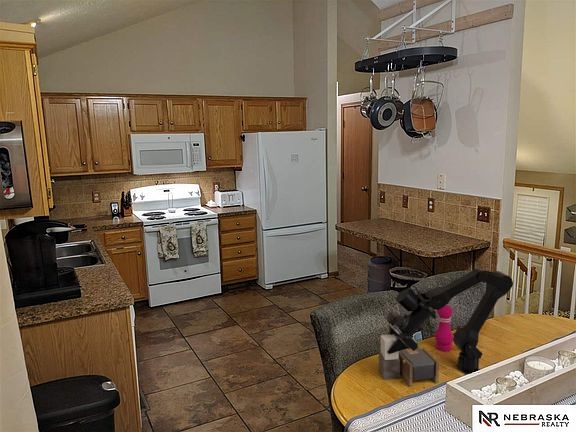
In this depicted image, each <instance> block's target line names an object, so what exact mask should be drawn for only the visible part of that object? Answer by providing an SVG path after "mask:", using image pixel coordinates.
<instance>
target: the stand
mask: <svg viewBox="0 0 576 432" xmlns="http://www.w3.org/2000/svg"><path fill="white" fill-rule="evenodd" d="M378 372H379V374H380V376H381V378H382V380H399V379H401V376H400V360H399V359H392V360H385V359H384V358H383V356H382V354H381V352H379V353H378Z"/></svg>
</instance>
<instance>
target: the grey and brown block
mask: <svg viewBox="0 0 576 432" xmlns="http://www.w3.org/2000/svg"><path fill="white" fill-rule="evenodd" d="M400 352H401V353H402V354H403V355H404V356H405V358H406V359H407V360H408V361H409V362H410V363H411V364H412V365H413V374H412V381H418V380H419V381H420V380H425V379H427V380H428V379H431V378H434V361H433V360H432V359H431V358H430V357H429V356H428V355H427V354H426V353H425V352H424V351H423V350H422V348H421V347H419V346H418V348H417V349H416V350H415V351H413V350H412V349H411V348H410V349H404V350H401V351H400Z"/></svg>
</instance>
